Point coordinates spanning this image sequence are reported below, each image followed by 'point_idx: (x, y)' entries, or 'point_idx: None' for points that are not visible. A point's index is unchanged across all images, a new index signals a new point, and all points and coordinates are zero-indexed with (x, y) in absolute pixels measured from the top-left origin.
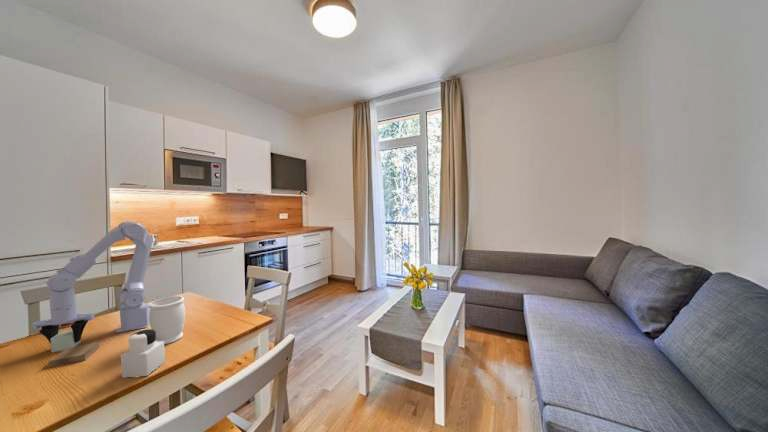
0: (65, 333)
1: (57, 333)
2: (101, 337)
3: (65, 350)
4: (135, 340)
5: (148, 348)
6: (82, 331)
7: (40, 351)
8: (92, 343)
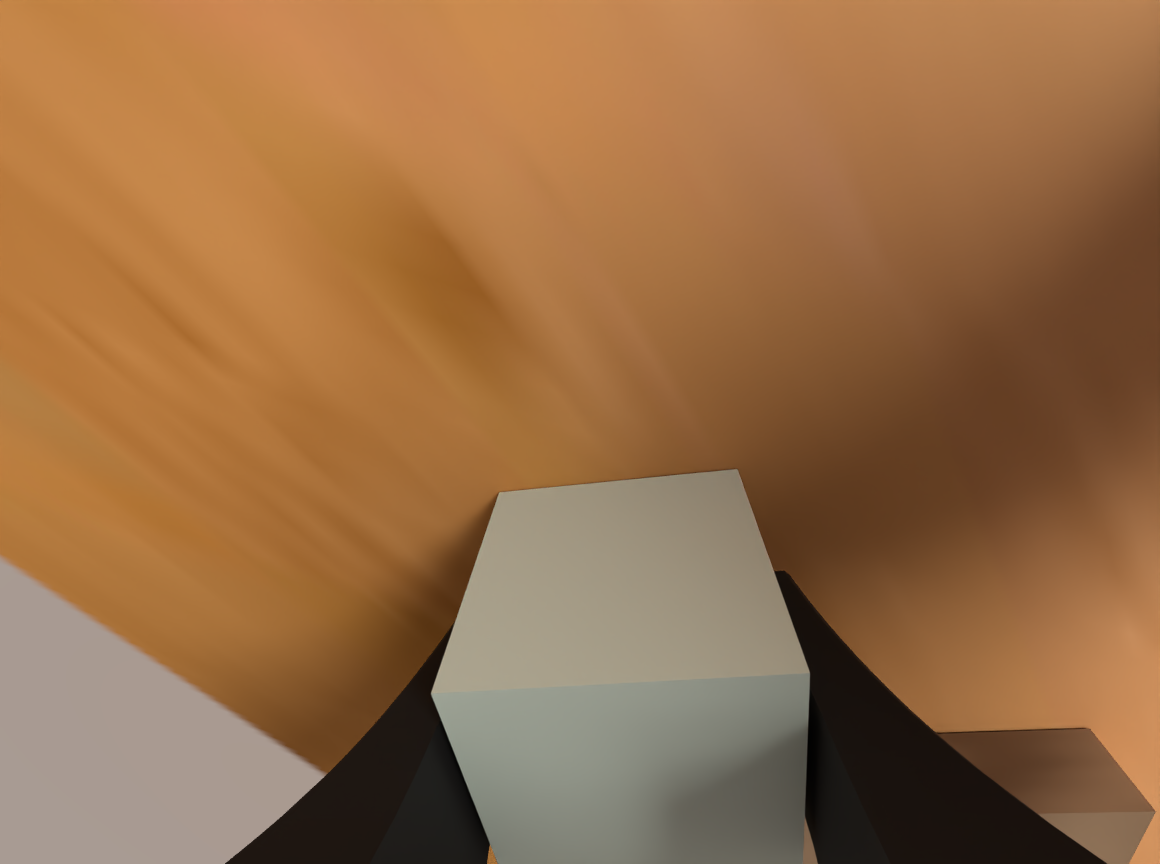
0: (625, 793)
1: (437, 747)
2: (1020, 409)
3: (806, 861)
4: None
5: None
6: (871, 681)
7: (358, 587)
8: (1076, 816)
